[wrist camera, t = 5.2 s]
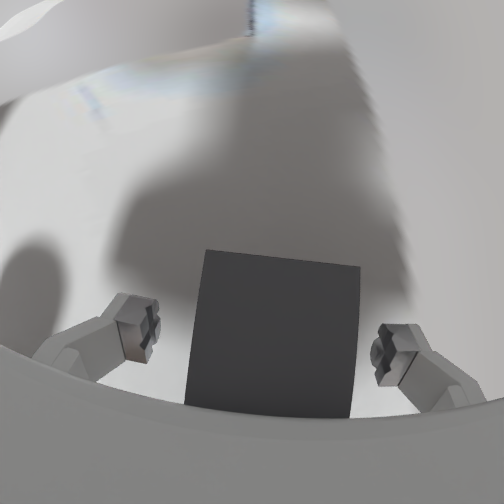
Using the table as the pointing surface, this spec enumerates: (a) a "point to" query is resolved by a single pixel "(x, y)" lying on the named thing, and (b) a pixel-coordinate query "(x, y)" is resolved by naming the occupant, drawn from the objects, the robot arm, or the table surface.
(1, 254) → the table surface
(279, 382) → the dark grey banded block
